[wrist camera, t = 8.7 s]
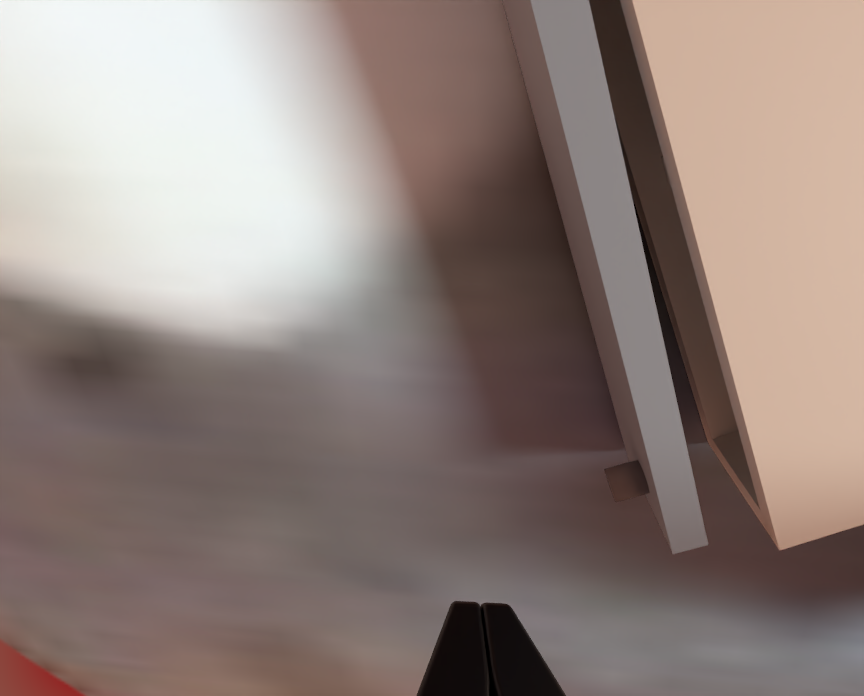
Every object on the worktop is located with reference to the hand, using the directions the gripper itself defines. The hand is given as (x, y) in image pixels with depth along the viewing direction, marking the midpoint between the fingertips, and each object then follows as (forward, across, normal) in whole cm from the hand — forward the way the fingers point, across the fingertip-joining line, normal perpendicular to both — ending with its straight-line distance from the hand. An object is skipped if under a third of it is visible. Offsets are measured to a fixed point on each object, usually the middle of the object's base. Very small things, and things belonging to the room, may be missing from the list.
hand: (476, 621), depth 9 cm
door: (+11, -2, -4) cm, 12 cm away
